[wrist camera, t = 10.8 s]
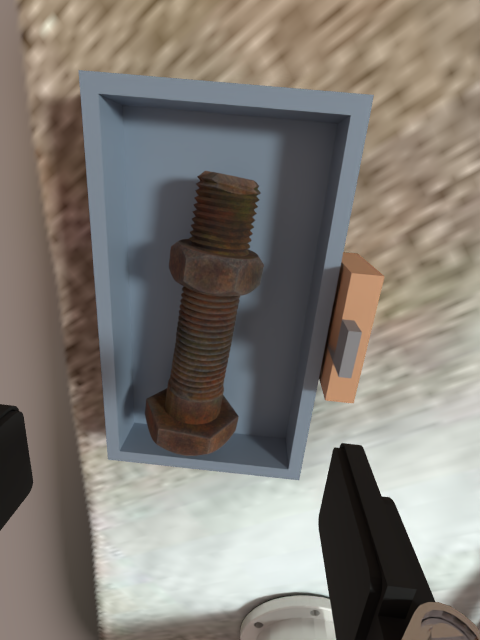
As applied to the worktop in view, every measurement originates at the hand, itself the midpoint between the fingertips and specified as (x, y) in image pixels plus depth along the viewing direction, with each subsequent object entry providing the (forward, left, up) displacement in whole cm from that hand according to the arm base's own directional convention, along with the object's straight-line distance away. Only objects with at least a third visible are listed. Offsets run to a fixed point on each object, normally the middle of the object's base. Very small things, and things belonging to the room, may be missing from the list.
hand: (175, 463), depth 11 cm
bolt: (0, 0, -13) cm, 13 cm away
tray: (+1, 0, -13) cm, 13 cm away
